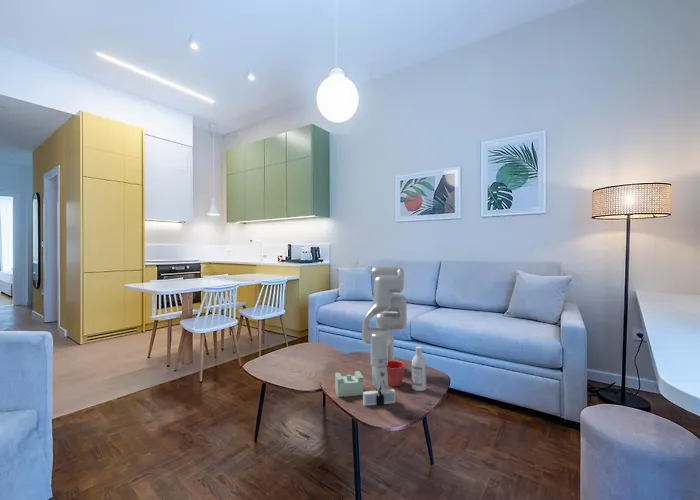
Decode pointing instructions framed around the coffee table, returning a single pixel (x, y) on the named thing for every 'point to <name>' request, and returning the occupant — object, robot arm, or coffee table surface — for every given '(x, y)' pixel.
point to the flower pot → (395, 373)
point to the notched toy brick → (349, 384)
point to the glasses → (371, 397)
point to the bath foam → (418, 371)
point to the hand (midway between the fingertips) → (379, 402)
